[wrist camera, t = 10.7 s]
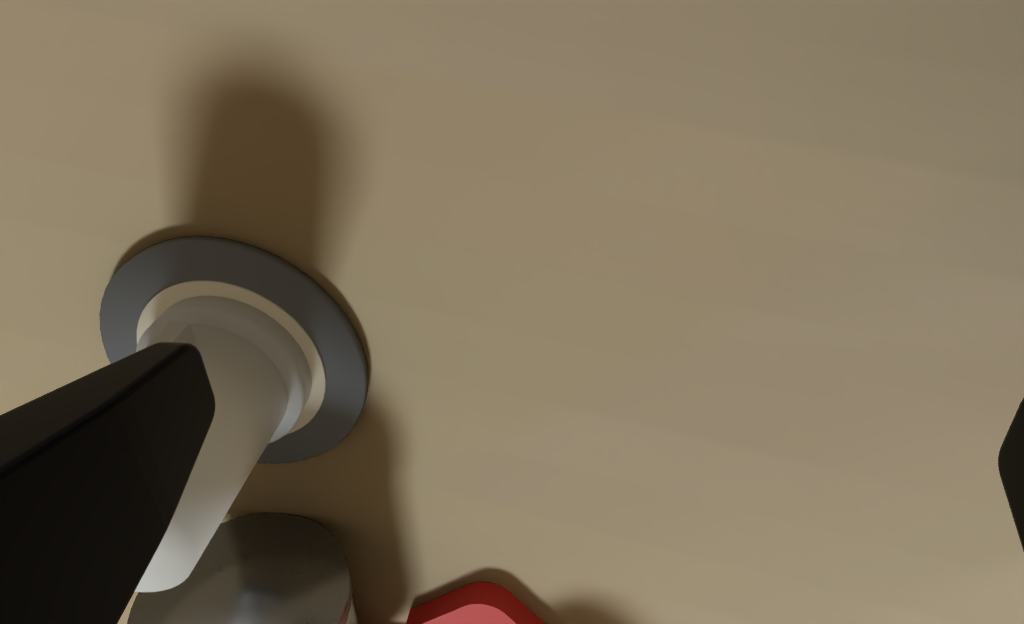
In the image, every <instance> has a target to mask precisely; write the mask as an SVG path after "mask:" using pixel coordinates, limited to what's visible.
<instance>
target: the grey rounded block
mask: <svg viewBox="0 0 1024 624" xmlns="http://www.w3.org/2000/svg"><path fill="white" fill-rule="evenodd" d="M127 624H358V620H357V616H356V612H355V608H354V603H353V599H352V585H351V579H350V574H349V570H348V565H347V561H346V558H345V555H344V552H343V550H342V548H341V546H340V545H339V543H338V541H337V540H336V539H335V538H334V537H333V535H332V534H331V533H330V532H328V531H327V530H326V529H325V528H324V527H322V526H320V525H319V524H317V523H315V522H313V521H311V520H308V519H306V518H303V517H299V516H295V515H289V514H279V513H267V514H256V515H250V516H245V517H241V518H237V519H233V520H230V521H227V522H224V523H221V524H220V525H219V527H218V528H217V530H216V532H215V533H214V535H213V537H212V538H211V540H210V542H209V543H208V545H207V547H206V548H205V550H204V552H203V554H202V555H201V557H200V559H199V560H198V562H197V564H196V565H195V567H194V569H193V570H192V572H191V574H190V575H189V577H188V578H187V579H186V580H185V581H184V582H182V583H181V584H179V585H178V586H175V587H173V588H171V589H167V590H163V591H157V592H139V593H138V595H137V596H136V599H135V601H134V603H133V606H132V608H131V611H130V615H129V618H128V623H127Z"/></svg>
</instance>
